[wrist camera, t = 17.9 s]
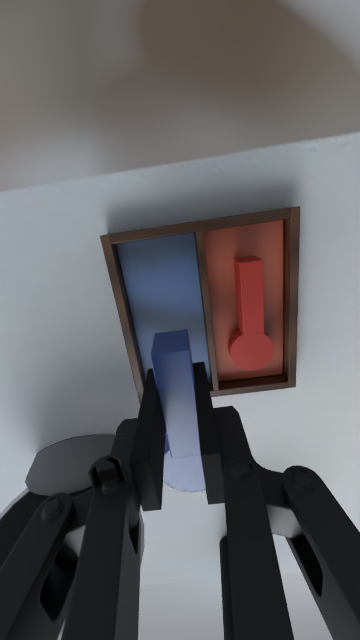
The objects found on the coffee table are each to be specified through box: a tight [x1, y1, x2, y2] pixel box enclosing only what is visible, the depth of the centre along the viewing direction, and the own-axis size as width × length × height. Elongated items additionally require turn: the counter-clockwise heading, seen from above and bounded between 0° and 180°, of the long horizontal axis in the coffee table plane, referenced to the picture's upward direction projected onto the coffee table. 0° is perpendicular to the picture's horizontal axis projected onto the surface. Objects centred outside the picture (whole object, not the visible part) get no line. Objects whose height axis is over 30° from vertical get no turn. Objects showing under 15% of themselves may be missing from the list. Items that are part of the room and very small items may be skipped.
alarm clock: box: [0, 435, 144, 640], centre depth 26 cm, size 16×10×18 cm, turn 104°
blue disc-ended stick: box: [150, 329, 206, 492], centre depth 16 cm, size 11×4×3 cm, turn 8°
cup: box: [220, 536, 234, 640], centre depth 36 cm, size 8×8×12 cm
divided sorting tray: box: [100, 206, 300, 405], centre depth 26 cm, size 18×17×2 cm
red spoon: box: [228, 256, 274, 370], centre depth 25 cm, size 11×4×3 cm, turn 8°
